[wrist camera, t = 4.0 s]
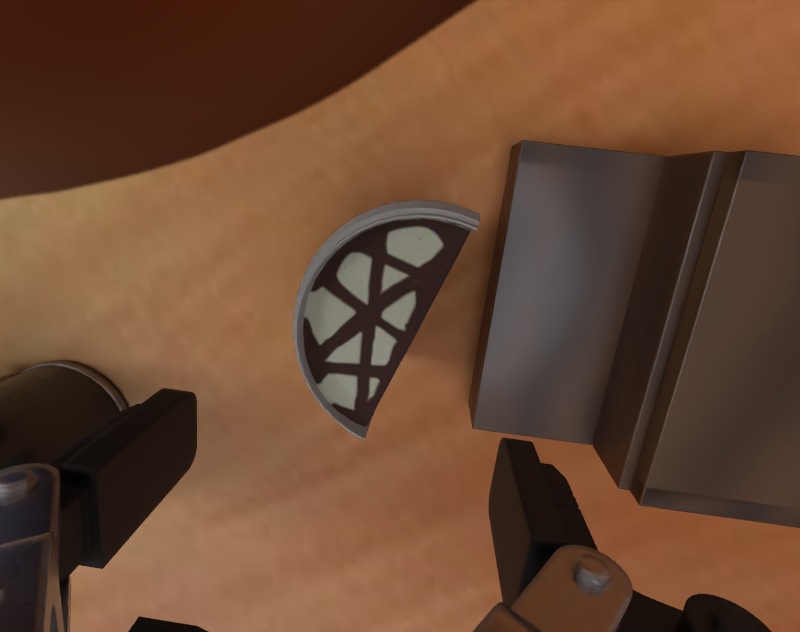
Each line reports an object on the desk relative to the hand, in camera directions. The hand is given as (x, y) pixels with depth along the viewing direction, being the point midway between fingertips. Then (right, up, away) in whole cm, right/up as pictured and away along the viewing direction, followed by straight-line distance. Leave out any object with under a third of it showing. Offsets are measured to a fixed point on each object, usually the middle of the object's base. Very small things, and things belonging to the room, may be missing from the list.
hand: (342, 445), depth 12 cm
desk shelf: (+15, +4, +18) cm, 24 cm away
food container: (0, +6, +18) cm, 19 cm away
